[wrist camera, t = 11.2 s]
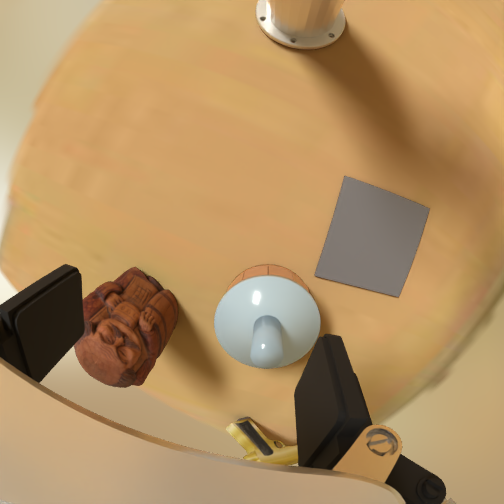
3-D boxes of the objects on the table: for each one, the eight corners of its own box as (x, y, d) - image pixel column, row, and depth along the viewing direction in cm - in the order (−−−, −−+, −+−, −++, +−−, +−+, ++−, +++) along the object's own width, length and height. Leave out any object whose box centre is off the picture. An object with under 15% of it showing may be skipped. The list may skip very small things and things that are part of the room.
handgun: (229, 417, 44) (257, 473, 34) (299, 410, 55) (326, 451, 45) (223, 424, 44) (249, 478, 35) (293, 416, 55) (318, 457, 46)
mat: (344, 175, 34) (345, 175, 34) (428, 208, 35) (429, 208, 34) (314, 274, 38) (314, 275, 38) (397, 296, 38) (398, 297, 38)
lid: (228, 262, 33) (217, 284, 26) (333, 289, 33) (348, 316, 26) (207, 350, 36) (196, 384, 29) (299, 371, 36) (304, 406, 30)
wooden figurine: (193, 308, 41) (150, 389, 23) (170, 334, 42) (125, 413, 25) (132, 257, 39) (58, 309, 22) (114, 285, 41) (44, 343, 23)
